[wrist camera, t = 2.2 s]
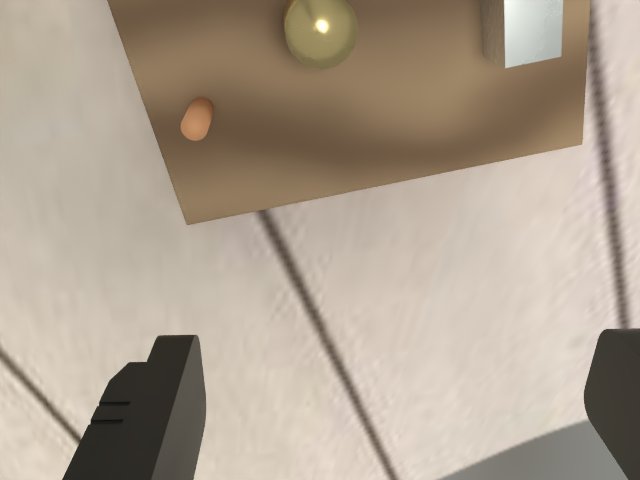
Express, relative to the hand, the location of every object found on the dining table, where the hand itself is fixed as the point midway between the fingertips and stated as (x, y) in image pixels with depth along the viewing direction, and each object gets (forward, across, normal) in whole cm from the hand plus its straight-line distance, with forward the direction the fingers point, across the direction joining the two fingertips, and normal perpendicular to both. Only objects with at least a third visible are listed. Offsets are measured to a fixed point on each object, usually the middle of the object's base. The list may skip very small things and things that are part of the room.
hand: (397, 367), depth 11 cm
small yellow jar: (+19, +1, -5) cm, 19 cm away
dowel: (+19, +7, -1) cm, 20 cm away
